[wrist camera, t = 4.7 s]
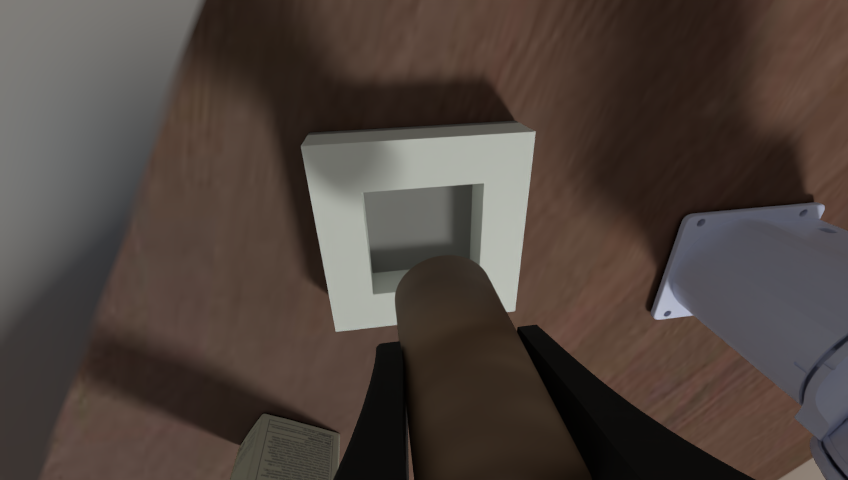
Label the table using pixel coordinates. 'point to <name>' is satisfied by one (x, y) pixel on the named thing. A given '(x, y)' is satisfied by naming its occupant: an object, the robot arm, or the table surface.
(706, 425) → the table surface
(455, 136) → the socket block
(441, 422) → the pin
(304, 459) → the skincare box
